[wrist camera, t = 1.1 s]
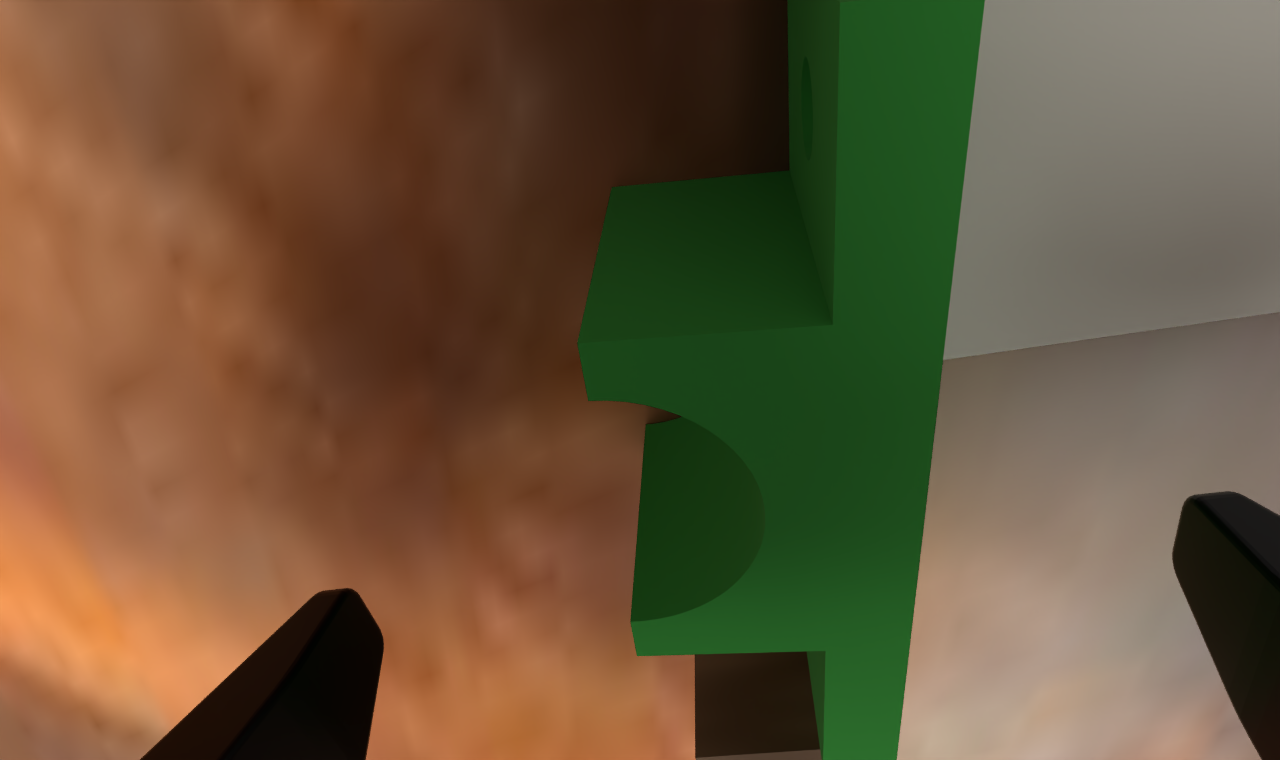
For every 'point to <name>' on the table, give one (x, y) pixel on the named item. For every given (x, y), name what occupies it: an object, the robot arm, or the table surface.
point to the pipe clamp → (798, 363)
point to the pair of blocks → (754, 707)
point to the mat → (1118, 171)
